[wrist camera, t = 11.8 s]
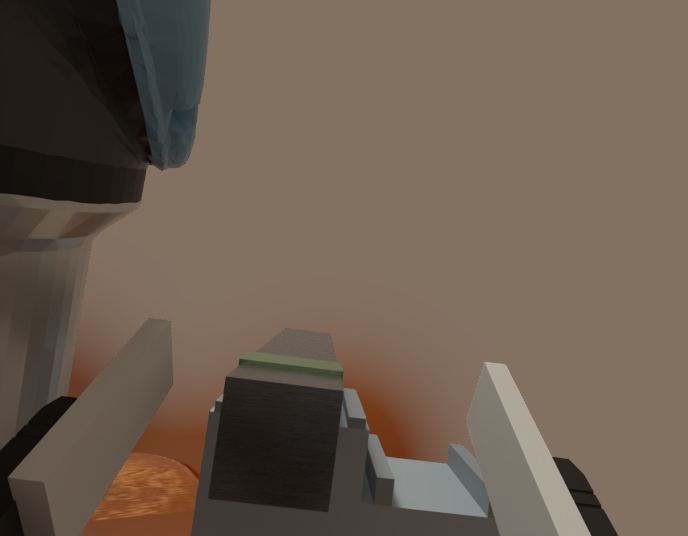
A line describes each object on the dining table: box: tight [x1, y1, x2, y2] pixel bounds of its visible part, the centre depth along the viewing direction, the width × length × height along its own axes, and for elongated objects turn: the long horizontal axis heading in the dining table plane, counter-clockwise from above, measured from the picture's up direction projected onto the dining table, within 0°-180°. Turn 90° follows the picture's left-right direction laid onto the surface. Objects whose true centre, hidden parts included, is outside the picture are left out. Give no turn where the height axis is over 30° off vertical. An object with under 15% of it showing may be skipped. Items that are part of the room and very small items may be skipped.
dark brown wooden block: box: [208, 328, 344, 512], centre depth 27 cm, size 24×4×4 cm, turn 3°
